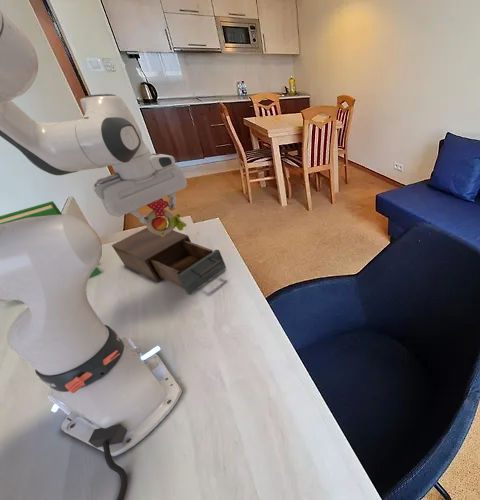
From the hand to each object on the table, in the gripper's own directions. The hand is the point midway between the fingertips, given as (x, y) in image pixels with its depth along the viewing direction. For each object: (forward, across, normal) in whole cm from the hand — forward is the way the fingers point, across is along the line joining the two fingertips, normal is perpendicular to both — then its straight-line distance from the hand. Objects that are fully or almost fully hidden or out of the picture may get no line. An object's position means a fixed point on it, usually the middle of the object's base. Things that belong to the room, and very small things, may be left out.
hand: (160, 215), depth 83 cm
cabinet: (+21, 0, +16) cm, 26 cm away
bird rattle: (+6, 0, 0) cm, 6 cm away
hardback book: (+21, -20, +36) cm, 46 cm away
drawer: (+20, 0, -3) cm, 20 cm away
